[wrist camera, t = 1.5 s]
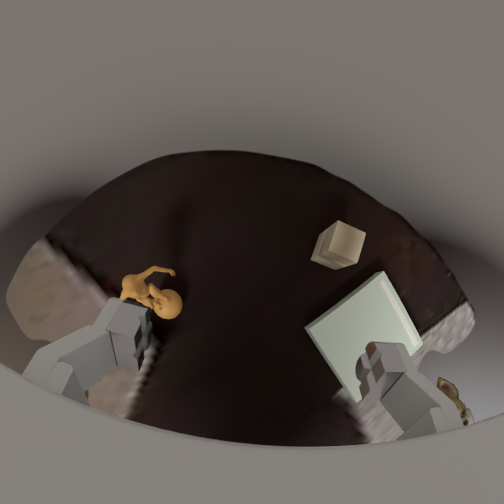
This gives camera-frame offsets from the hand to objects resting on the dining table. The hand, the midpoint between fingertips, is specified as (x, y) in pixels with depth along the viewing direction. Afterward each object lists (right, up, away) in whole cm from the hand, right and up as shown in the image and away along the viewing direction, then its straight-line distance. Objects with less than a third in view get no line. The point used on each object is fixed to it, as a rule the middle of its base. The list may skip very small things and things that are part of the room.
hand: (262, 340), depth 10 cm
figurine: (-12, -3, +29) cm, 32 cm away
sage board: (+17, -10, +30) cm, 35 cm away
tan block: (+11, +3, +31) cm, 33 cm away
